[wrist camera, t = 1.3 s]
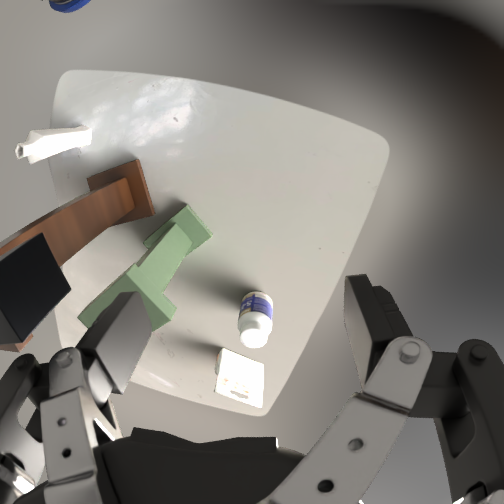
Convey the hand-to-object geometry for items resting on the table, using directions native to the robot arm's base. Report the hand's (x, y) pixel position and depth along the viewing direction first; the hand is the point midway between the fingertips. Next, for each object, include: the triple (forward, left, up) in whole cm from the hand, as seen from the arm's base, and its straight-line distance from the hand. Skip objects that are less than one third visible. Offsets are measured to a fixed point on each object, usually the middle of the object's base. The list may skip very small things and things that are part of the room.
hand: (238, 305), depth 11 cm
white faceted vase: (-3, -30, -32) cm, 44 cm away
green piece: (+13, -12, -32) cm, 36 cm away
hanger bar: (+4, -18, 0) cm, 19 cm away
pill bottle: (+22, +2, -32) cm, 40 cm away
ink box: (+36, +1, -32) cm, 49 cm away
